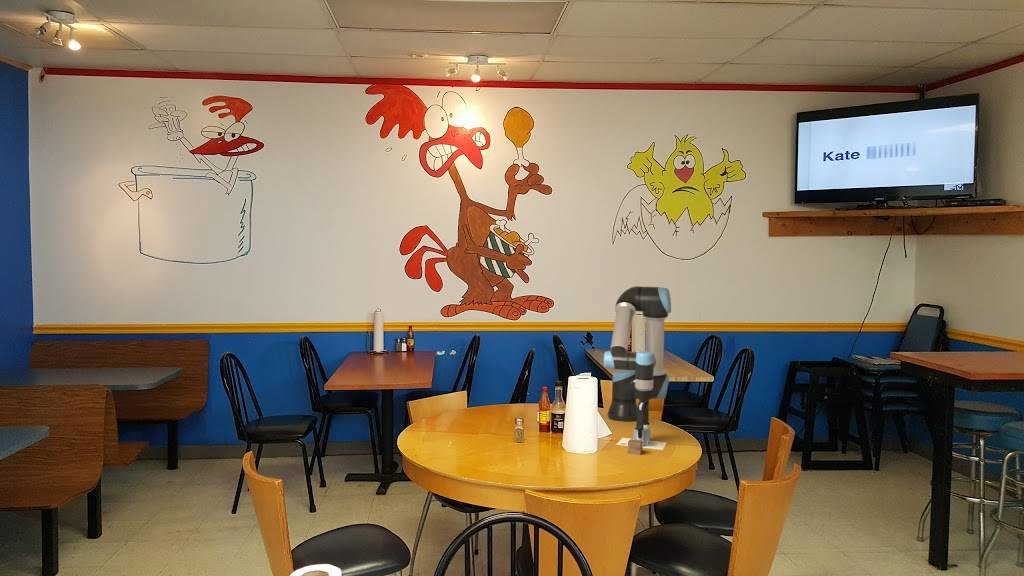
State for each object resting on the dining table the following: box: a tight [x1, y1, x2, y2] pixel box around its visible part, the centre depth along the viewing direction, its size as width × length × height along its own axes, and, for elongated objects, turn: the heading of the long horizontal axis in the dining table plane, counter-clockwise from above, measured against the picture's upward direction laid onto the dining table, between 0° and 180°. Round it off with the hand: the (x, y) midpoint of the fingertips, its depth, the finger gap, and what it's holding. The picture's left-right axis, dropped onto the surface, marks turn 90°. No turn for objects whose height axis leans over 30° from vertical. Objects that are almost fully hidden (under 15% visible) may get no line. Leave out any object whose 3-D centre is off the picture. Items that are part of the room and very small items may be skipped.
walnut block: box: [627, 438, 644, 456], centre depth 301 cm, size 5×5×5 cm
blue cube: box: [632, 427, 652, 446], centre depth 315 cm, size 6×6×6 cm
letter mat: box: [616, 437, 667, 451], centre depth 316 cm, size 16×22×1 cm
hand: (641, 442), depth 315 cm, fingers open, 8 cm apart
